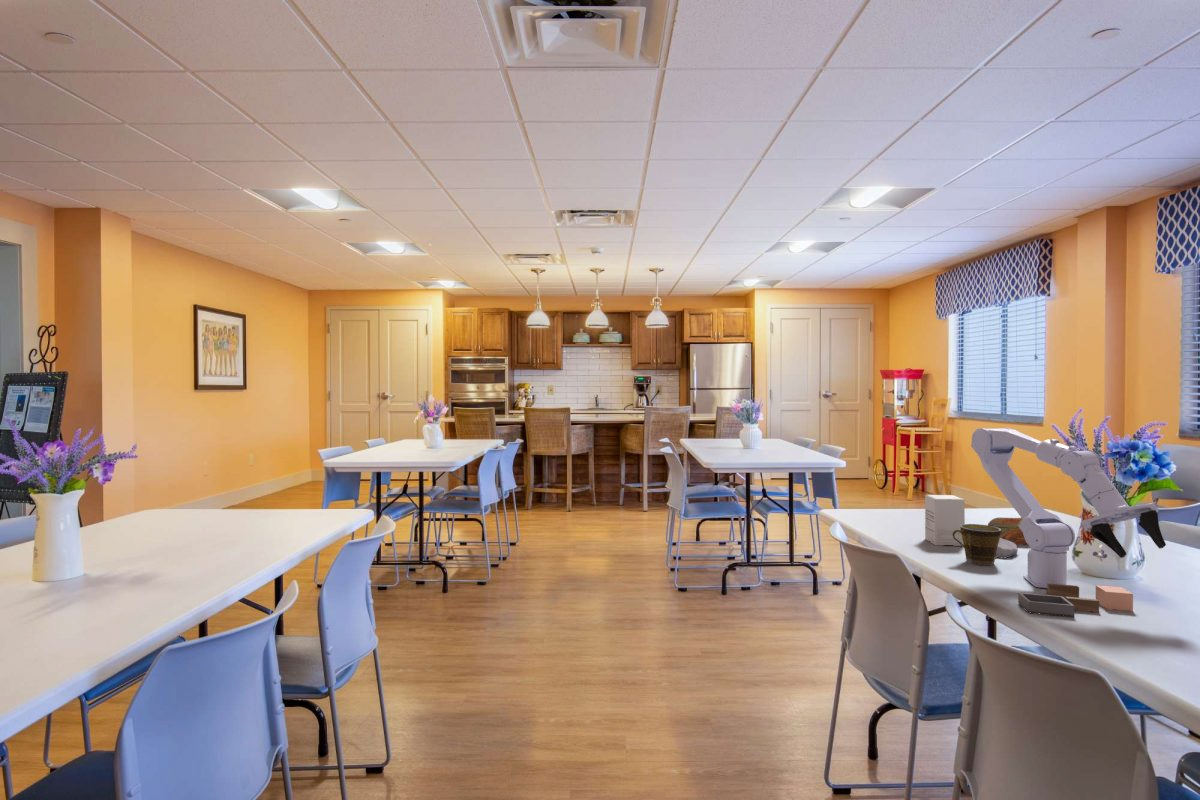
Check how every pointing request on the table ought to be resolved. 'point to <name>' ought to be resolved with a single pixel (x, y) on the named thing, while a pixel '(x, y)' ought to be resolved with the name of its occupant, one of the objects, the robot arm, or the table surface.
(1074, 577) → the table surface
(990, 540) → the ceramic cup
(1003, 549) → the stone block
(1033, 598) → the box
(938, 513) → the supplement box
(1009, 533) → the tin
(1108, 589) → the terracotta block
